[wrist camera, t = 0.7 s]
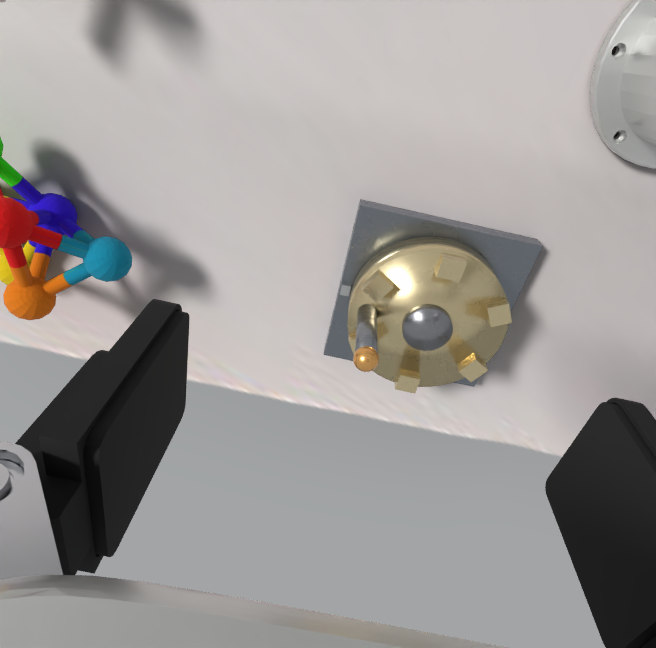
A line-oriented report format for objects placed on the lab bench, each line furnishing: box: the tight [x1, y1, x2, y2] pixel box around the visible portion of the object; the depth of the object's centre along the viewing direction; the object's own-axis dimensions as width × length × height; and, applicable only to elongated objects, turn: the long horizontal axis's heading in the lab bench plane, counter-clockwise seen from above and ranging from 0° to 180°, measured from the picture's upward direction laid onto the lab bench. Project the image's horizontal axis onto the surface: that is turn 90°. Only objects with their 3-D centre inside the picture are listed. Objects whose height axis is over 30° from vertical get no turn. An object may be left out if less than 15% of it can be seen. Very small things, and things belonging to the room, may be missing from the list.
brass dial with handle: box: [348, 237, 512, 393], centre depth 36 cm, size 13×13×10 cm
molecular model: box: [0, 138, 132, 320], centre depth 37 cm, size 15×10×15 cm
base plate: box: [324, 199, 542, 387], centre depth 41 cm, size 15×15×2 cm
